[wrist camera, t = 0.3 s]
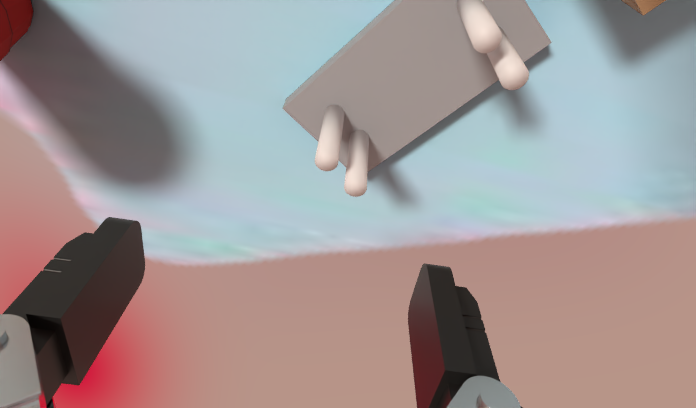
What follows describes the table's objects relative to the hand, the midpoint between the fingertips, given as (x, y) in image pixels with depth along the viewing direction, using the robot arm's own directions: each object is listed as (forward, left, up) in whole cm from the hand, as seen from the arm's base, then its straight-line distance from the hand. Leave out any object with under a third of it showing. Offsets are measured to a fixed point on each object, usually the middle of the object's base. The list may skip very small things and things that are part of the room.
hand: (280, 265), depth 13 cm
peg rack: (-2, +5, -21) cm, 22 cm away
